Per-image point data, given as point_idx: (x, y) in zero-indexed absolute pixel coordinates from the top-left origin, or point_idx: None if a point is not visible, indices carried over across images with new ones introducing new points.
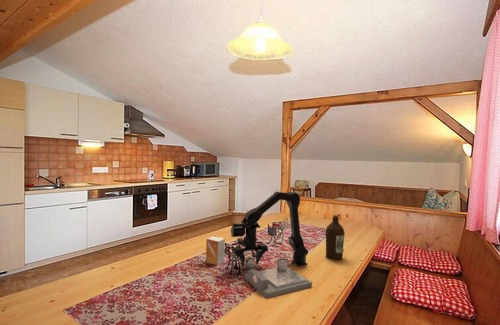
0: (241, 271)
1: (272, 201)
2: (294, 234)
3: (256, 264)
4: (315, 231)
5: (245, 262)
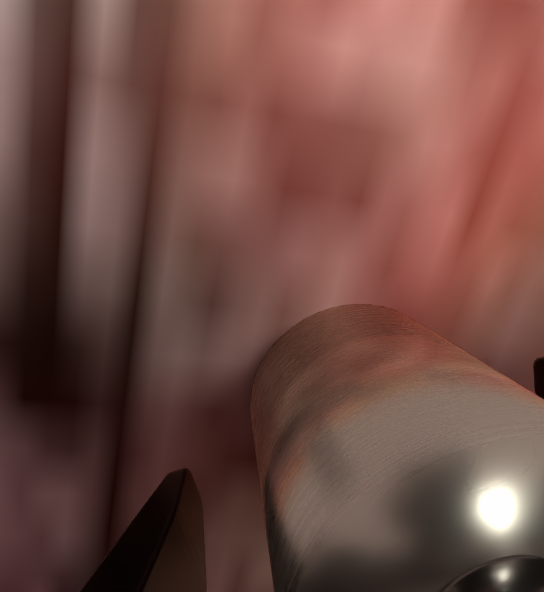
0: None
1: None
2: None
3: (534, 386)
4: None
5: (267, 537)
